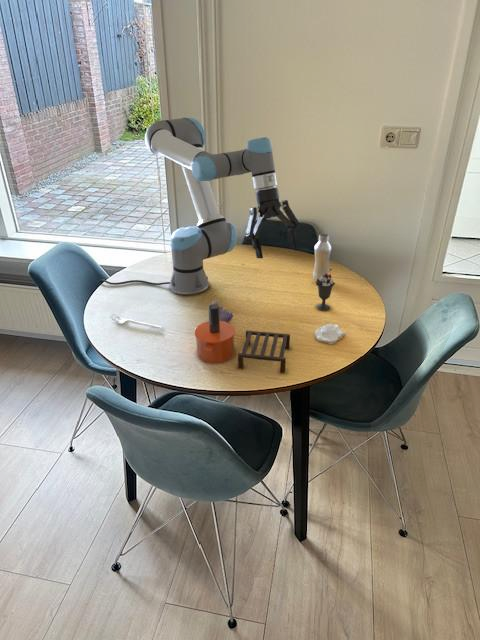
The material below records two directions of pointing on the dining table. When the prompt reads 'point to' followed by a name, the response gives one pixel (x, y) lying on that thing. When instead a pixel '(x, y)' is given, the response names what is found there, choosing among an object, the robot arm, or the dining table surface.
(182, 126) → the robot arm
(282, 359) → the rack
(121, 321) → the cooking utensil
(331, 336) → the rose
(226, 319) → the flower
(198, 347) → the pot
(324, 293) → the sundae
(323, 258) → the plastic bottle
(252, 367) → the dining table surface
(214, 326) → the lid
